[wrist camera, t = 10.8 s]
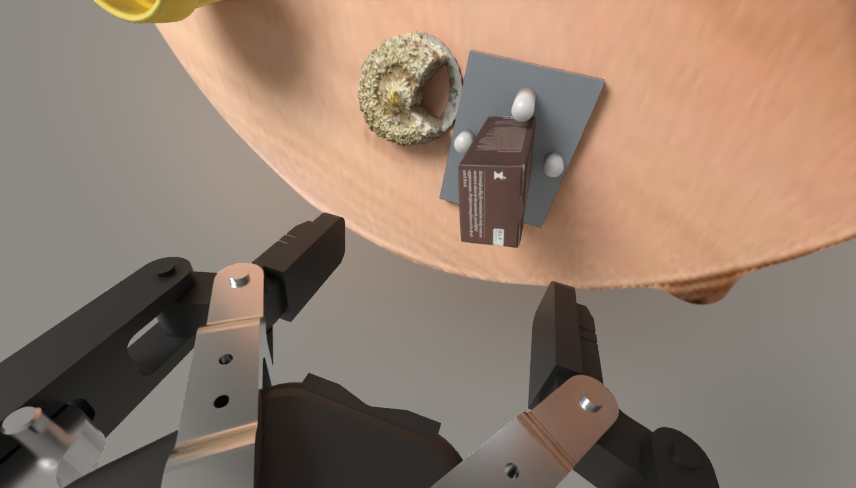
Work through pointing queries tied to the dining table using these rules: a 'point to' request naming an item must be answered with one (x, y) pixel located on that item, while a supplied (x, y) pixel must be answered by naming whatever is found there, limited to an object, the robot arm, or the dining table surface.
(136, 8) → the plant pot
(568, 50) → the dining table surface
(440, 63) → the sea snail shell
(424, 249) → the dining table surface
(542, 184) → the pin tray
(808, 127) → the dining table surface
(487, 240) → the box
